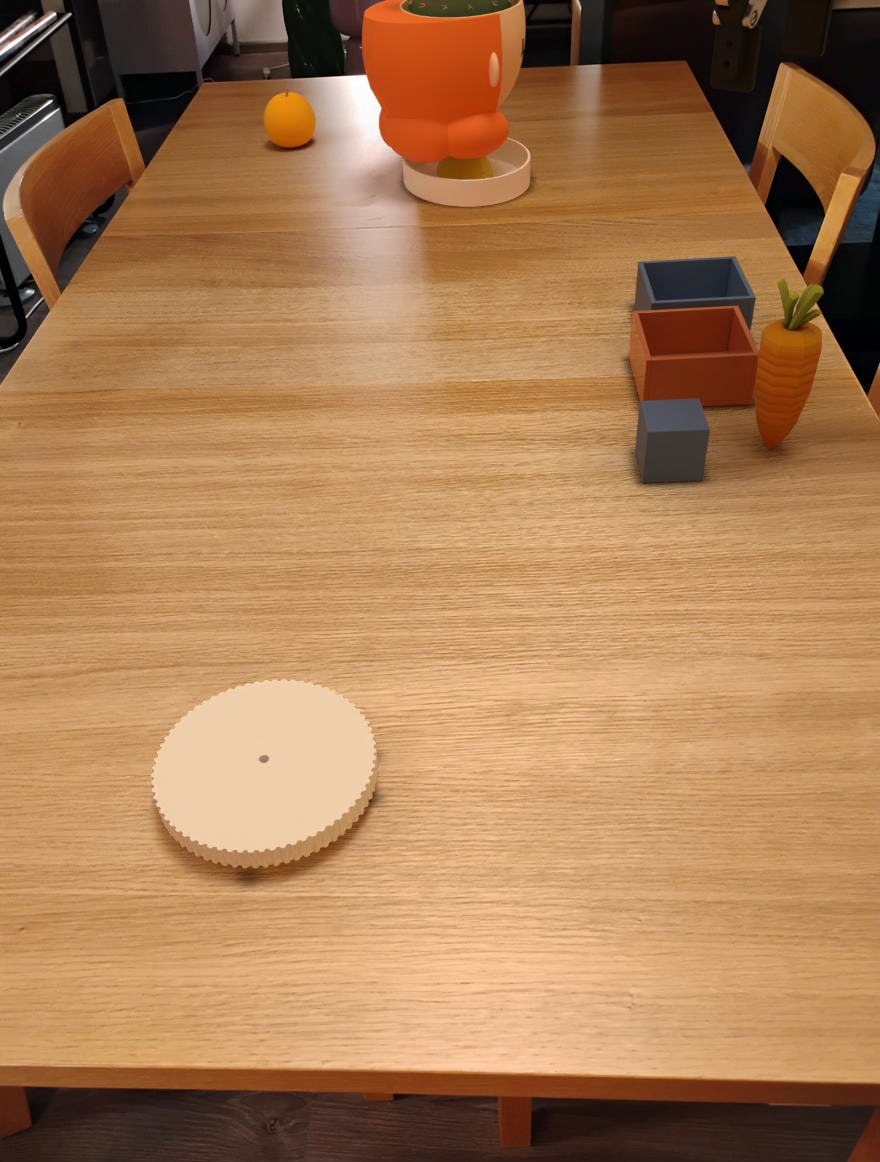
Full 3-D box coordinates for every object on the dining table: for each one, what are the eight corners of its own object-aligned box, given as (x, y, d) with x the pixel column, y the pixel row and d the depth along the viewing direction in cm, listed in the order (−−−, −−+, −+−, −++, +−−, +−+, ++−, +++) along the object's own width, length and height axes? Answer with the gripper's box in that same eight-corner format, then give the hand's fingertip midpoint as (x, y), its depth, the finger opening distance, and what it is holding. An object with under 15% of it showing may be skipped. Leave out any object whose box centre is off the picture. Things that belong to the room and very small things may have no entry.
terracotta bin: (730, 353, 102) (738, 305, 98) (751, 404, 94) (760, 354, 91) (628, 358, 103) (632, 310, 99) (641, 409, 95) (646, 360, 92)
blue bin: (728, 301, 110) (735, 255, 107) (748, 345, 103) (756, 297, 99) (634, 306, 111) (638, 261, 108) (646, 350, 104) (651, 303, 100)
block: (692, 448, 90) (699, 397, 86) (702, 481, 86) (710, 429, 83) (634, 451, 90) (639, 400, 87) (642, 483, 87) (647, 431, 83)
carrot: (732, 437, 91) (759, 271, 81) (787, 430, 91) (821, 264, 81) (752, 467, 87) (783, 298, 77) (809, 460, 87) (848, 290, 77)
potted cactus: (489, 146, 153) (483, -146, 130) (557, 192, 137) (565, -132, 114) (353, 175, 149) (322, -123, 125) (407, 225, 133) (384, -105, 109)
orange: (257, 149, 161) (249, 97, 156) (289, 134, 165) (282, 82, 160) (296, 155, 157) (289, 102, 152) (328, 139, 162) (322, 87, 157)
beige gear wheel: (288, 675, 73) (282, 649, 71) (425, 781, 65) (423, 754, 63) (118, 788, 66) (108, 762, 64) (248, 921, 58) (240, 896, 56)
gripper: (799, -227, 56) (751, 112, 68) (938, -257, 65) (874, 48, 76) (680, -222, 60) (654, 96, 72) (825, -251, 69) (781, 38, 80)
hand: (767, 71), depth 74 cm, fingers open, 9 cm apart
